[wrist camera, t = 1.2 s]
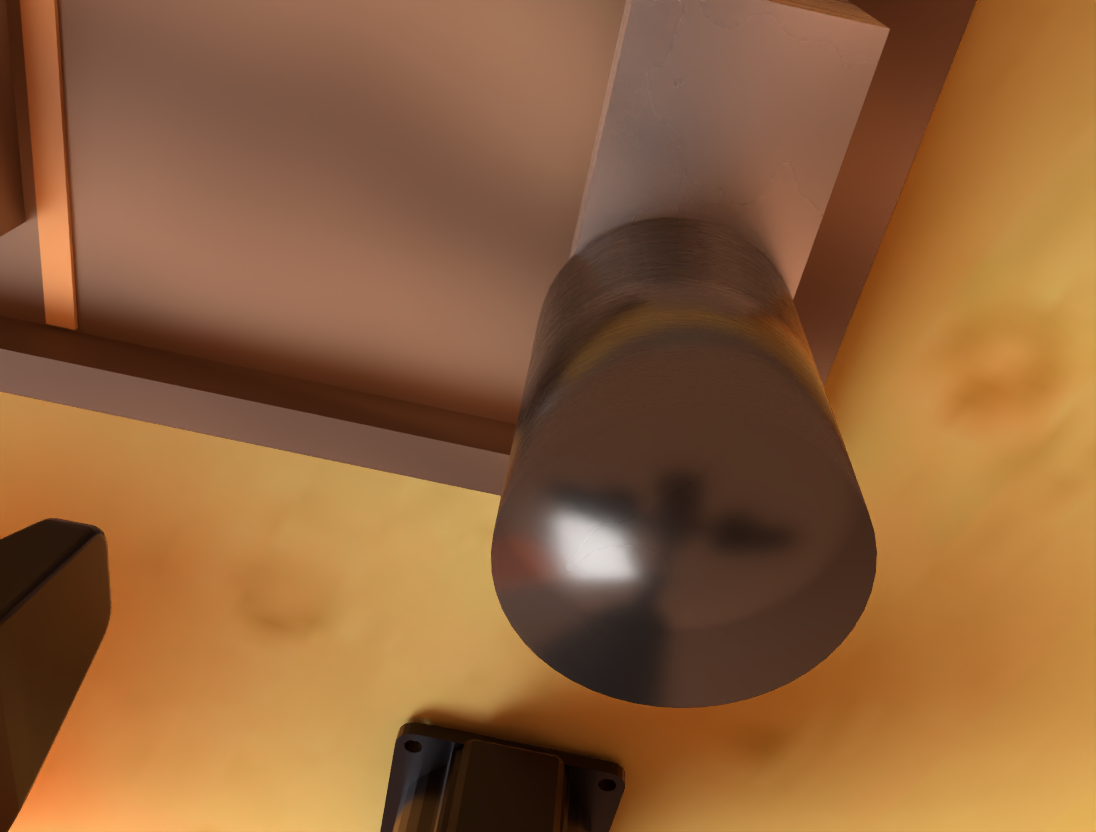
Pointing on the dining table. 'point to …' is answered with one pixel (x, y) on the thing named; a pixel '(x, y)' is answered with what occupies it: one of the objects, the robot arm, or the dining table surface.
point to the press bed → (347, 210)
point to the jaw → (694, 371)
